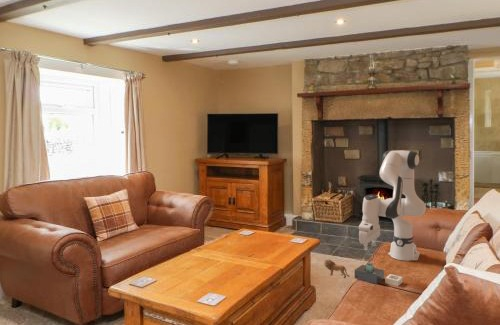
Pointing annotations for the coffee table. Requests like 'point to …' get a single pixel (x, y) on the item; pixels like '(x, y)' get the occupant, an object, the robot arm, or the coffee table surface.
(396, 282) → the white square block
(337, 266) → the lion figurine
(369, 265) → the plug
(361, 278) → the block
